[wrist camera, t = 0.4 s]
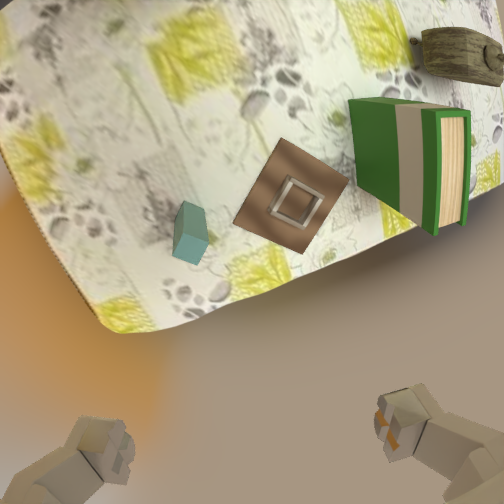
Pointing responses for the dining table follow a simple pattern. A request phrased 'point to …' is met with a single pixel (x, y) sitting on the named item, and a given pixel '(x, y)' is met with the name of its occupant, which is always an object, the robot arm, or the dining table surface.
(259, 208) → the socket board
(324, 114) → the dining table surface
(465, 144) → the hardback book
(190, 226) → the teal post
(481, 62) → the tabletop clock
